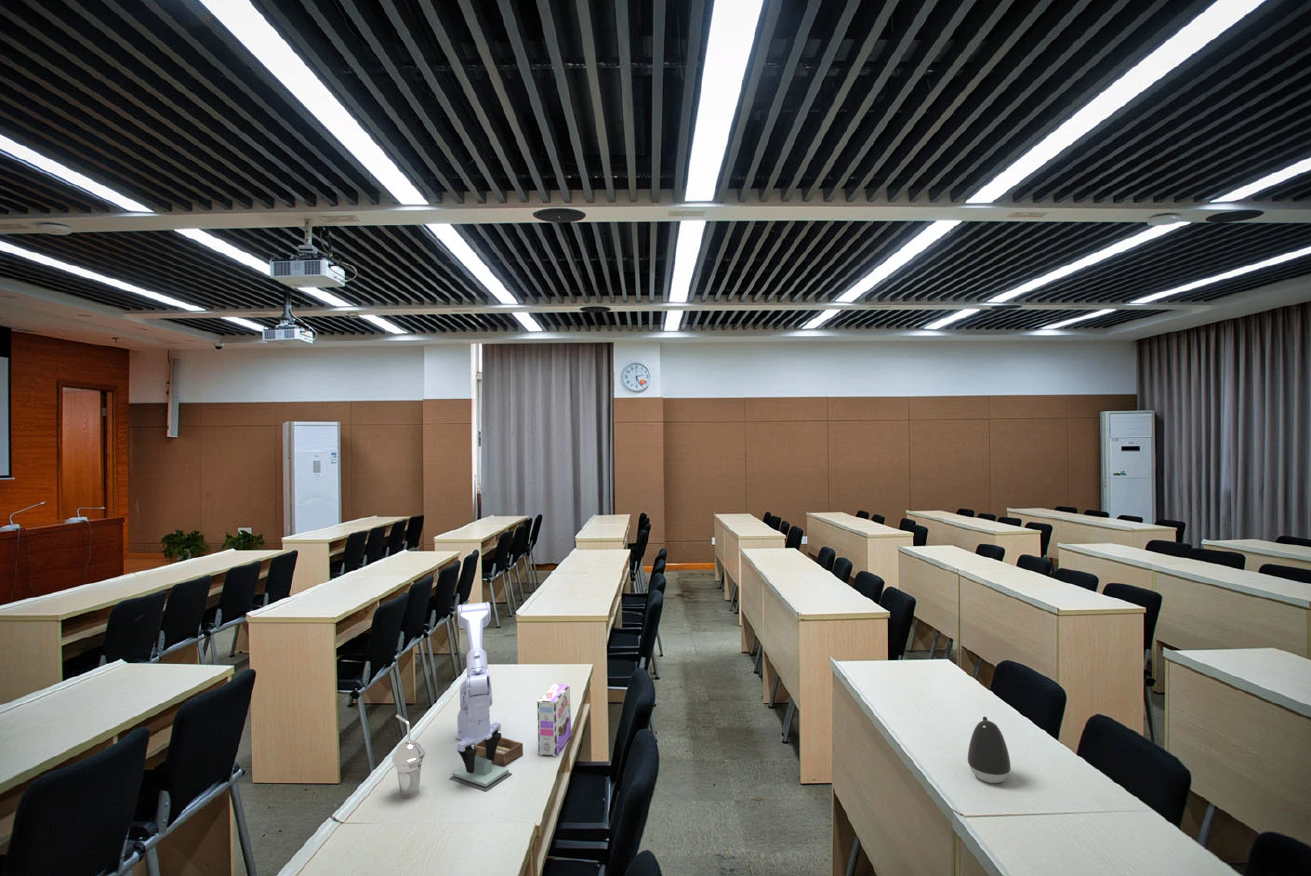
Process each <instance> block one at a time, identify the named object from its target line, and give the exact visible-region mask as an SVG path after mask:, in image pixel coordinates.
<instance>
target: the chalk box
mask: <svg viewBox="0 0 1311 876" xmlns="http://www.w3.org/2000/svg"><path fill="white" fill-rule="evenodd" d="M523 748H524V744H523V742H520V741H517V740H513V739H509V738H506V737H502V736H501V739H500V741H499V743H498V745H497V748H496V752H495V757H494V760H493V761H492V764H493V765H496V766H499V767H503V768H505V767H507V766H508V765H510V764H511V763H512V762H514V761H516V760H518V759H519V758H520V757H522V756H523V755H524V749H523ZM473 749H476V750H477V752H476V755H475V756H478V757H481V758H485V759H487V757H486V746H485V741H484V740H483V741H481V742H479V743H478V744H473Z"/></svg>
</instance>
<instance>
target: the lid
mask: <svg viewBox="0 0 1311 876" xmlns="http://www.w3.org/2000/svg"><path fill="white" fill-rule="evenodd" d="M508 772H509V769H508V768H505V767H502V766H499V765H496V764H493V763H492V761H491V760H488V759H485V758H481V757H478V756H475V761H474V773H472V774H471V773H468V772H467V771H466V767H465V765H463V766H462V767H460V768H459V769H456V770H455V771H453V772H452V776H456V777H458V778H461V779H464V780H467V781H470V782H473V783H476V784H479V785H482V786H485V787H486V786H488V785H489V784H491V783H493V782H494V781H496V780H497V779H499V778H500V777H502V776H503V775H505V774H506V773H508Z"/></svg>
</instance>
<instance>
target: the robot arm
mask: <svg viewBox="0 0 1311 876" xmlns="http://www.w3.org/2000/svg"><path fill="white" fill-rule="evenodd" d="M456 607H457V610H456V611H457V625H458V627H459V628H461V629H462V630H465V631H466V633H467V636H466V637H467V654H466V656H465V657H466V659H465V660H466V678H465V680H464V681H463V682H462V683H460V685H459V707H460V710H459V711H458V714H457V721H456V722H457V735H456V736H455V739H456V740H460V741H459V742H457V743H456V747H457V749H456V751H457V753H459V755H460V758H461V759H462V761H463V764H464V766H465V767H466V771H467V772H468V773H471V774H472V773H474V761H475V755H476V752H477V750H476V749H474V745H476V744H478V743H479V742H481V741H483V740H484V741H485V746H486V757H487V759H488V760H491V761H493V760H494V757H495V752H496V748H497V745H498V743H499V741H500V739H501V737H502V733H501V732H500V731H502V730H501V729H502V726H501V725H502V723H499V722H496V721H495V722H494V723H491V721H490V720H491V718H490V717H491V716H490V711H491V710H490V707H491V706H492V705H493V690H492V689H493V688H492V682H491V675H490V672H489V671H490V670H489V668H488V667H489V665H488V654H487V652H486V651H485V649H483V635H484V634H483V630H484V629H485V628H486V627H488V625H489V623H490V622H491V620H492V619H491V618H492V613H491V611H492V610H491V603H490V602H489V601H486V602H475V603H468V604H458V605H457V606H456ZM472 745H473V747H472Z"/></svg>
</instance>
